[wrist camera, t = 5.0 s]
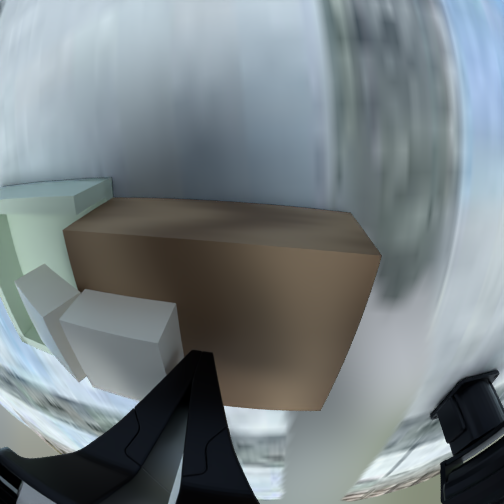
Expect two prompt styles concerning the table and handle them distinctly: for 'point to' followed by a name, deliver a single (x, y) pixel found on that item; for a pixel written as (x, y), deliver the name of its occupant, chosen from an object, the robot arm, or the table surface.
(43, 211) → the tray
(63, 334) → the tile
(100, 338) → the tile
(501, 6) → the table surface
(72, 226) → the tan cardboard slab
